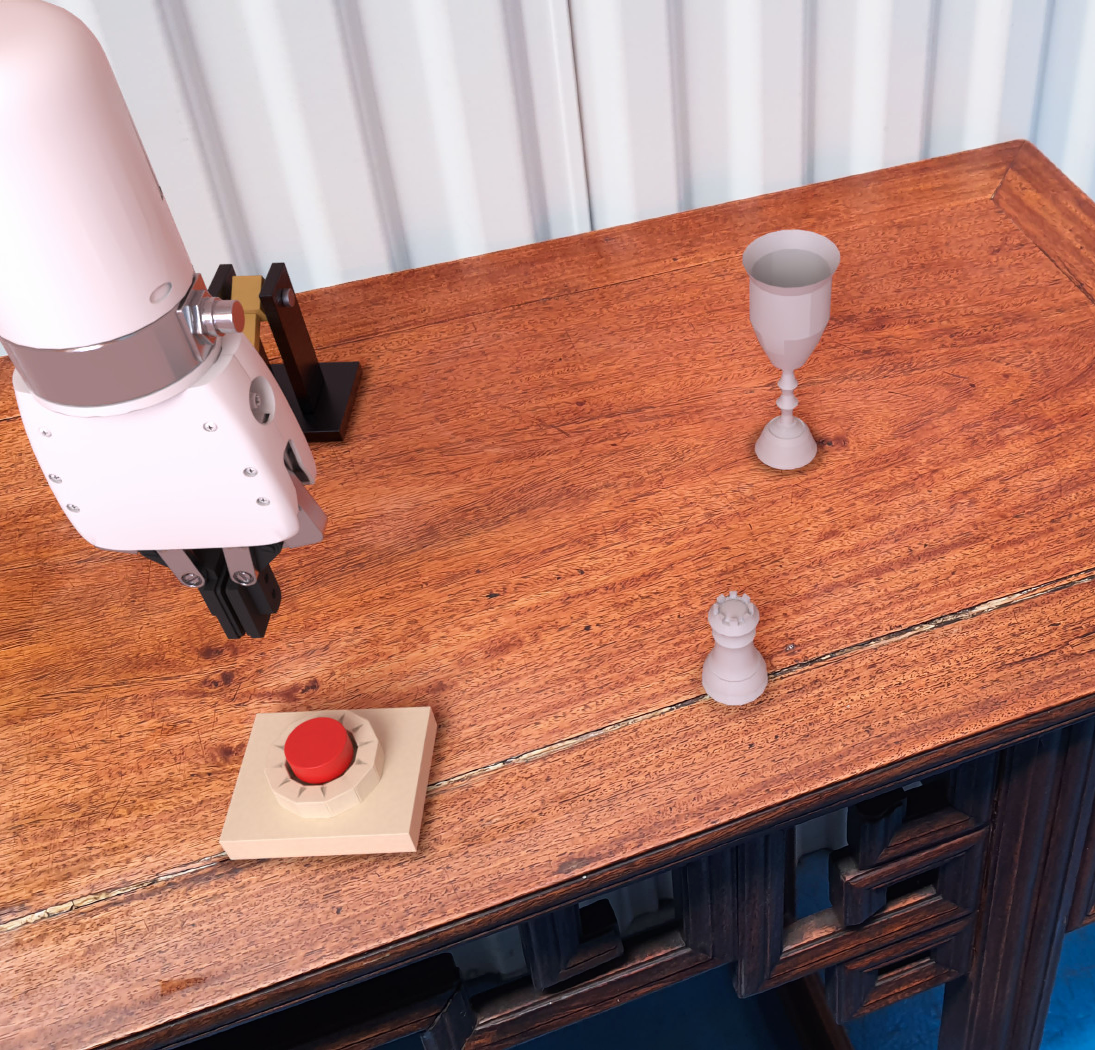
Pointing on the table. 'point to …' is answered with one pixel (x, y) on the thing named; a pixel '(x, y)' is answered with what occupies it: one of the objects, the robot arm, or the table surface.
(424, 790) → the control box
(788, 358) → the chalice
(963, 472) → the table surface
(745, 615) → the rook chess piece
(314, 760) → the red button
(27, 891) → the table surface
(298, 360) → the switch bracket
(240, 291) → the switch lever
